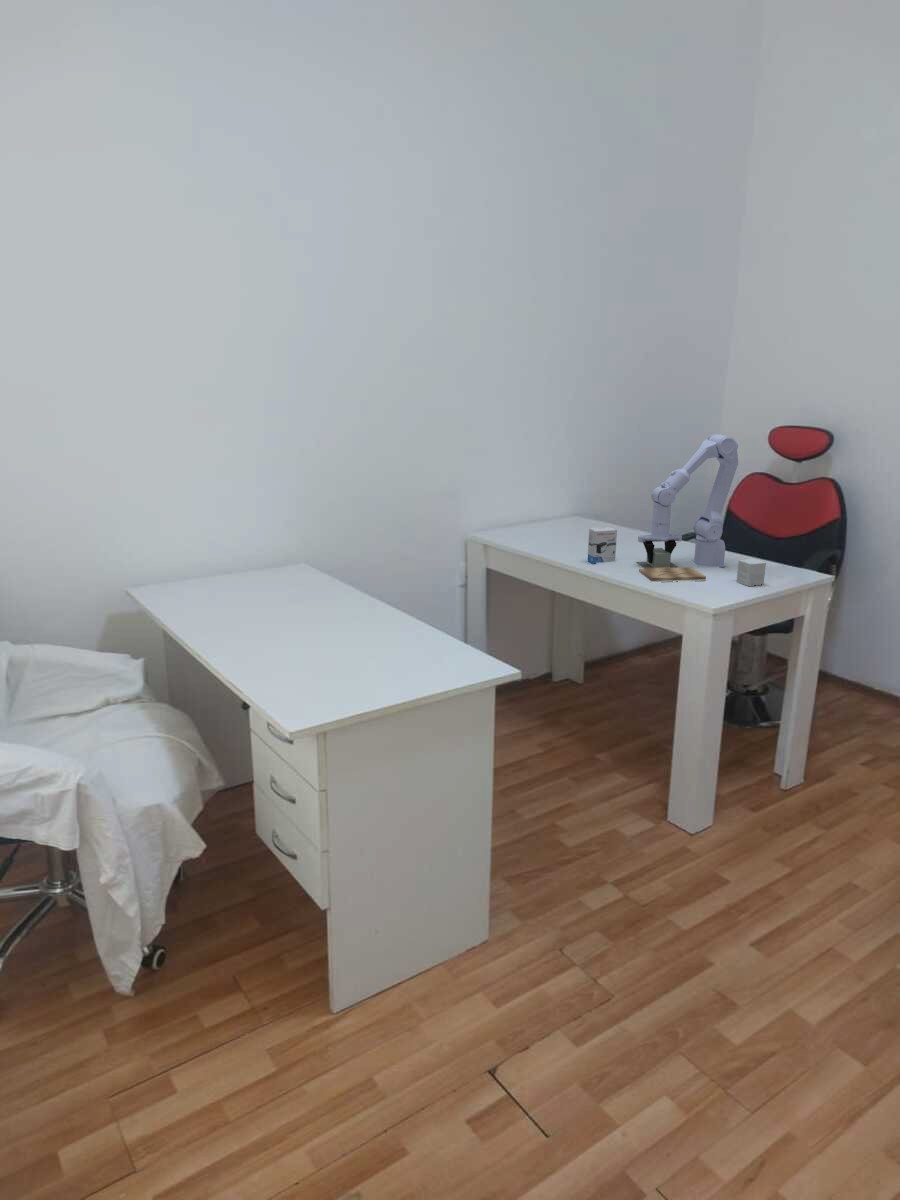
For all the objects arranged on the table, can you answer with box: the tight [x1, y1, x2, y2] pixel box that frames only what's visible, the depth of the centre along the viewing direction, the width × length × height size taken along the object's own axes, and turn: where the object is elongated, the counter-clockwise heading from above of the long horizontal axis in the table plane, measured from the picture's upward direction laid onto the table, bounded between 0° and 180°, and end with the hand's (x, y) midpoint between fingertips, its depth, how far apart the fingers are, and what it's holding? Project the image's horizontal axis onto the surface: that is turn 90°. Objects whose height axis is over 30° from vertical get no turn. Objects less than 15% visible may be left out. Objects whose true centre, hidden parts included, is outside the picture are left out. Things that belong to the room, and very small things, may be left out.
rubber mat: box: [635, 561, 680, 569], centre depth 298 cm, size 12×11×1 cm
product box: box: [736, 557, 767, 587], centre depth 278 cm, size 6×6×7 cm
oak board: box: [638, 566, 707, 583], centre depth 285 cm, size 18×12×2 cm, turn 97°
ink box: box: [587, 526, 618, 565], centre depth 303 cm, size 8×5×12 cm, turn 105°
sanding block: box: [645, 547, 672, 568], centre depth 297 cm, size 5×9×5 cm, turn 7°
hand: (658, 562), depth 297 cm, fingers closed on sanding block, 5 cm apart
